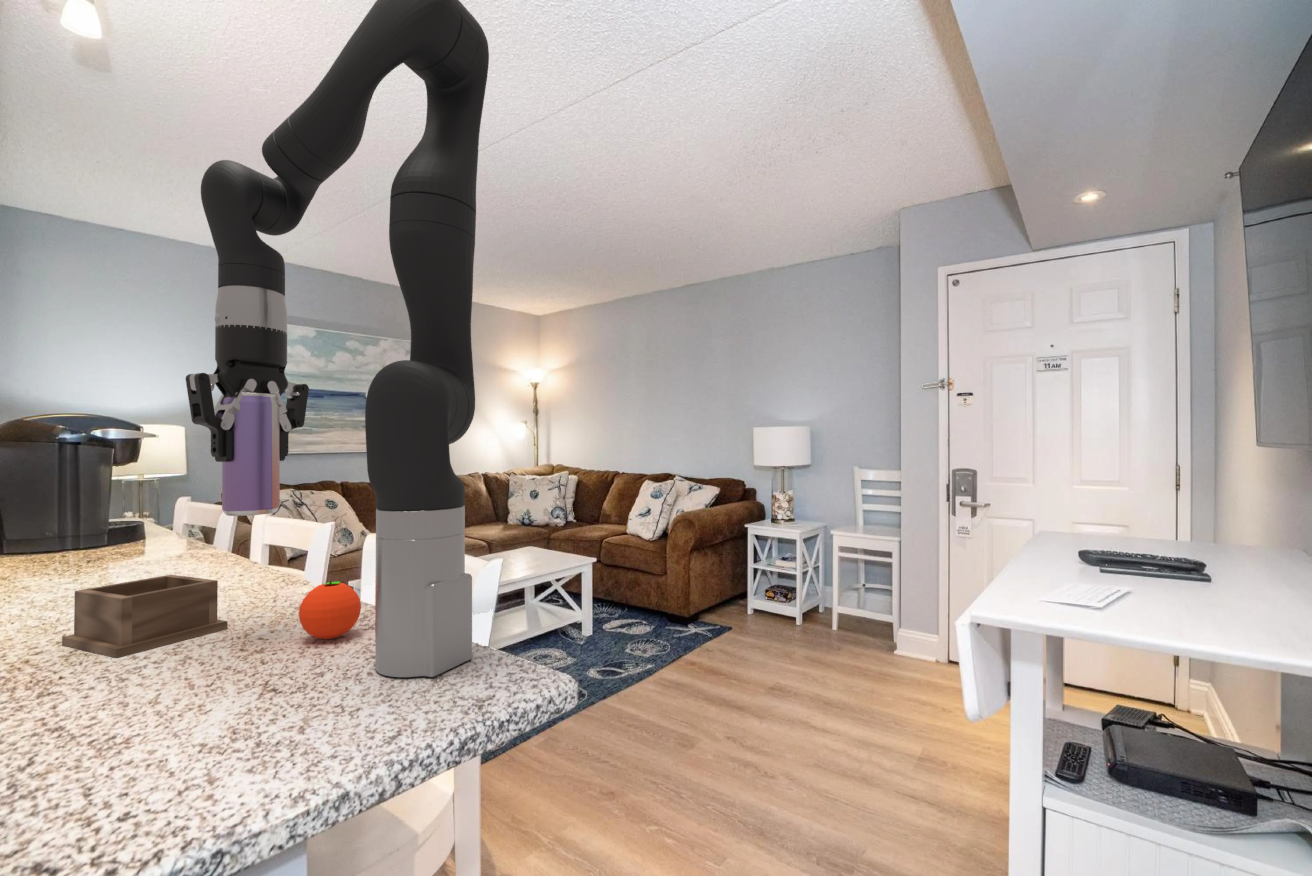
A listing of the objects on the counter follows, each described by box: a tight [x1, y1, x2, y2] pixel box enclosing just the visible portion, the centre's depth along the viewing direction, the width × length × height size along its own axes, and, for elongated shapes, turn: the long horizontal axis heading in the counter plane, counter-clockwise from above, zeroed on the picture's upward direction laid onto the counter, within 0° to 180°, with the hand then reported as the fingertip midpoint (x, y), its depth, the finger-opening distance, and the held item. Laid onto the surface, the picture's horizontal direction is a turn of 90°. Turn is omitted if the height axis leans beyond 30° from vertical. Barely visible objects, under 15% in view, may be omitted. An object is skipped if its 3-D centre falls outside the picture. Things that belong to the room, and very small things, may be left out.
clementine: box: [298, 580, 362, 640], centre depth 75 cm, size 8×7×7 cm
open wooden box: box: [61, 574, 228, 659], centre depth 76 cm, size 12×12×6 cm
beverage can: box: [221, 392, 281, 517], centre depth 74 cm, size 6×6×15 cm
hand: (251, 460), depth 74 cm, fingers closed on beverage can, 6 cm apart
